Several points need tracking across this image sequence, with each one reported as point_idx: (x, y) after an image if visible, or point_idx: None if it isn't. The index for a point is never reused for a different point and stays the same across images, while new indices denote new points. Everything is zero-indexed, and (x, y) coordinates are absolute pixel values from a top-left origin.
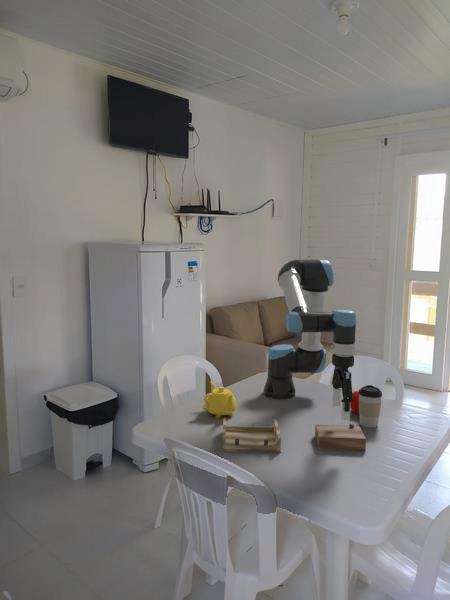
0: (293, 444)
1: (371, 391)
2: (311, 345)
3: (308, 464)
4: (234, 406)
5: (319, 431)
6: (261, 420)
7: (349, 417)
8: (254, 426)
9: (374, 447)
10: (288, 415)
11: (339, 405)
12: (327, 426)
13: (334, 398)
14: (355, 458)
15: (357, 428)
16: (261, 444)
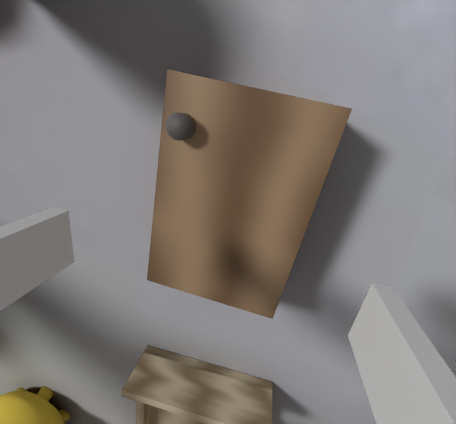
0: (226, 334)
1: None
2: None
3: None
4: (30, 421)
5: (219, 295)
6: (68, 345)
7: (404, 311)
8: (137, 406)
9: (304, 40)
10: None
11: (63, 219)
12: (171, 243)
13: (8, 295)
14: (382, 189)
15: (202, 97)
16: None
